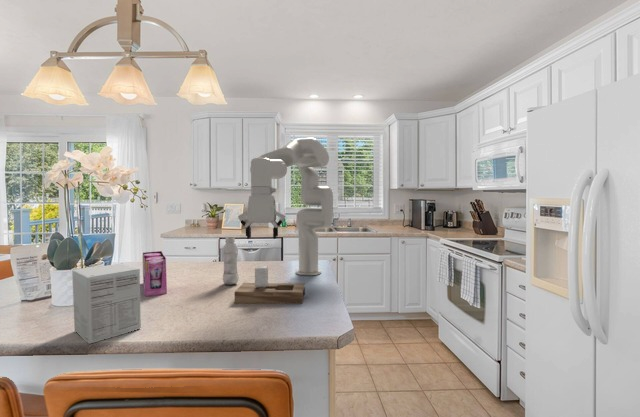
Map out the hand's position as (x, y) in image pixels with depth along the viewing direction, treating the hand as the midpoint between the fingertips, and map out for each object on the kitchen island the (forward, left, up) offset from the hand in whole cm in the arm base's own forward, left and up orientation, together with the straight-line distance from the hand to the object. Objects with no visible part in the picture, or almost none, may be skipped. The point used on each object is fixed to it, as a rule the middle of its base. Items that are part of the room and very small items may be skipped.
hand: (261, 238), depth 125 cm
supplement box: (+31, -38, -23) cm, 54 cm away
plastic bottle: (-19, -18, -23) cm, 34 cm away
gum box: (-12, -47, -23) cm, 54 cm away
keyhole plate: (0, +3, -22) cm, 23 cm away
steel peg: (0, 0, -22) cm, 22 cm away
